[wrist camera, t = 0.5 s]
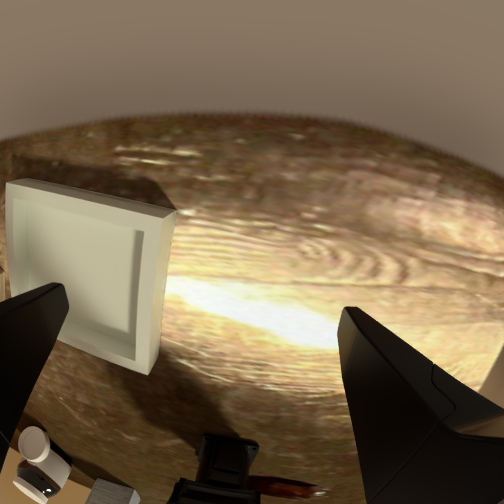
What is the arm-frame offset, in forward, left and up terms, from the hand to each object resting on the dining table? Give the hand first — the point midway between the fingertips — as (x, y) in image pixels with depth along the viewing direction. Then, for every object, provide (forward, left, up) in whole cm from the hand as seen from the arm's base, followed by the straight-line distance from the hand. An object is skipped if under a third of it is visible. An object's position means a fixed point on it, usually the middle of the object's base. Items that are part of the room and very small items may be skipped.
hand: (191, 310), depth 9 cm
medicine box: (-53, +12, -14) cm, 56 cm away
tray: (-8, +13, -14) cm, 21 cm away
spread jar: (-48, +26, -14) cm, 56 cm away
